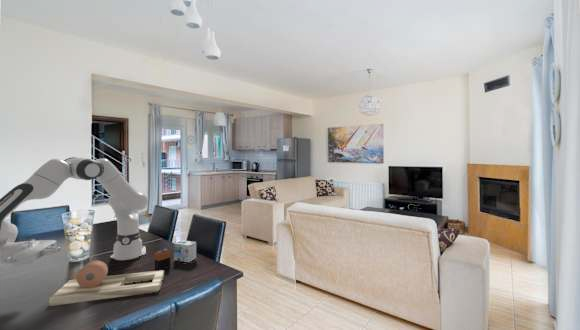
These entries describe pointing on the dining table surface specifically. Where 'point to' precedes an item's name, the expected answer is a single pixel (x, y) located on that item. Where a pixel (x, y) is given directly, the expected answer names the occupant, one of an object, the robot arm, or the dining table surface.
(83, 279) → the roller
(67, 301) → the board
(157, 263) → the battery
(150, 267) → the dining table surface
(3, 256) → the robot arm
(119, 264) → the dining table surface
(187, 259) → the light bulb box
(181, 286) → the dining table surface
